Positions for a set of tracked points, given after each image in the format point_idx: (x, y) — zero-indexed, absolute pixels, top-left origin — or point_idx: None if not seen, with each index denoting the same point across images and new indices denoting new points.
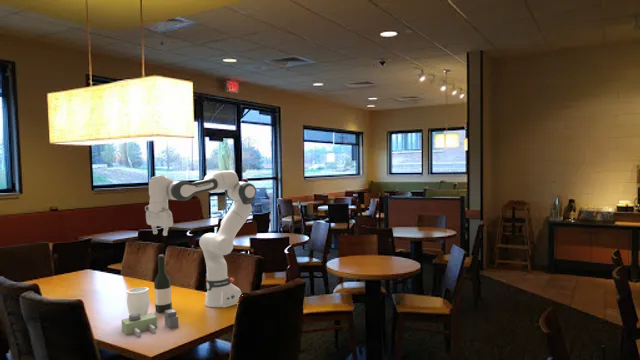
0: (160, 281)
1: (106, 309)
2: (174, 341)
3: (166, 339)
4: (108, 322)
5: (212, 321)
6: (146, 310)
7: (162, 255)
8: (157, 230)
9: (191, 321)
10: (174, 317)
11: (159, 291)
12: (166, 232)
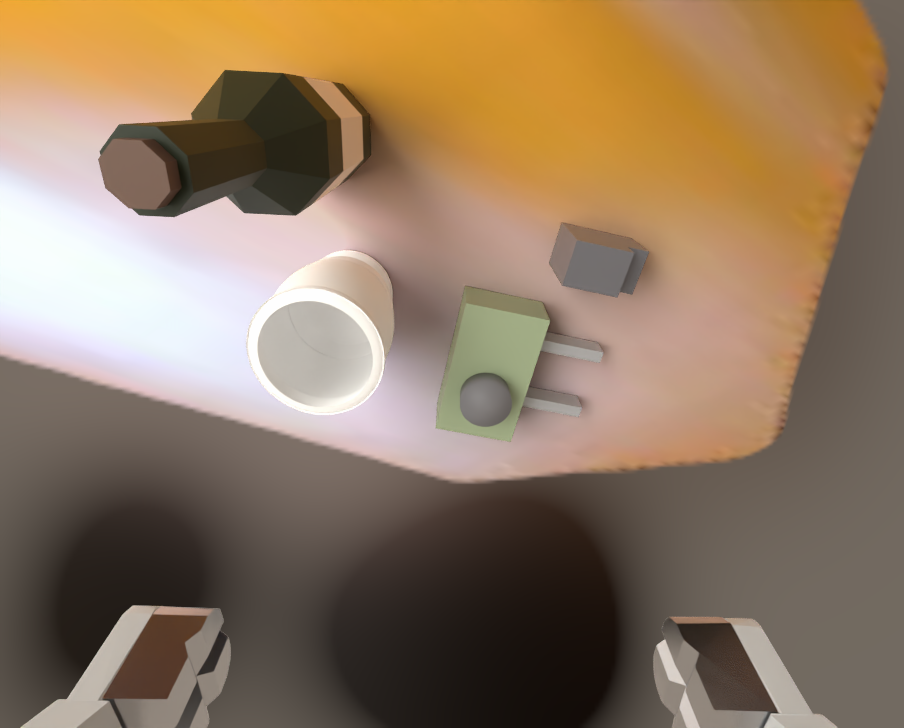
0: (312, 194)
1: (66, 317)
2: (754, 347)
3: (704, 353)
4: None
5: (755, 70)
6: (387, 287)
7: (169, 173)
8: (170, 698)
9: (636, 149)
10: (641, 269)
11: (325, 191)
12: (790, 709)
